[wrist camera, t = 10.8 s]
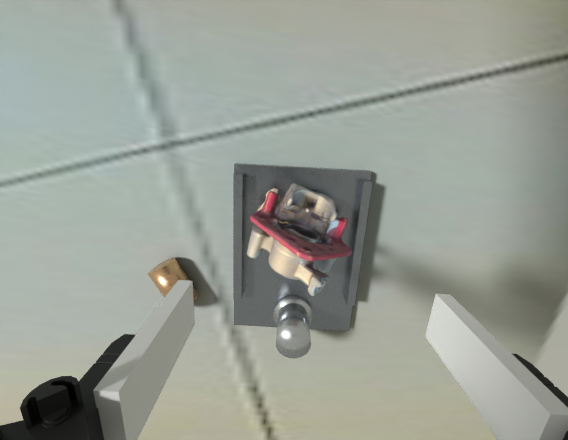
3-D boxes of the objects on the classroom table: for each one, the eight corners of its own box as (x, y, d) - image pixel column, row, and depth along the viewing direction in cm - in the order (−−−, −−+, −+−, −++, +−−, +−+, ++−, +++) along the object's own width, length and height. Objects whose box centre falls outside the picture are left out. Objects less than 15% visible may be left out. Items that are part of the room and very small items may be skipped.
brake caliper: (371, 188, 29) (367, 290, 22) (331, 238, 38) (319, 322, 31) (272, 152, 29) (236, 246, 21) (255, 211, 37) (225, 292, 30)
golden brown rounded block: (153, 267, 36) (143, 278, 33) (177, 254, 36) (170, 263, 33) (177, 302, 38) (171, 316, 34) (200, 290, 38) (196, 302, 34)
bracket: (236, 163, 32) (222, 169, 26) (369, 170, 32) (390, 178, 26) (235, 320, 39) (224, 358, 32) (347, 326, 39) (359, 366, 32)
